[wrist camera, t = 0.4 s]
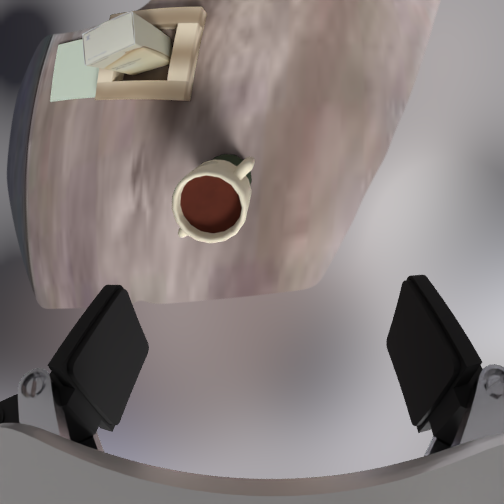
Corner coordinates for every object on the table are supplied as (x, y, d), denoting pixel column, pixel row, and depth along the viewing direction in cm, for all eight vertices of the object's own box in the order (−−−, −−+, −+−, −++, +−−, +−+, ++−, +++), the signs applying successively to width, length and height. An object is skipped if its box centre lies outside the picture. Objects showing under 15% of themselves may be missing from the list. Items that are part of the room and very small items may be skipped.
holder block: (120, 19, 25) (110, 14, 23) (206, 13, 26) (201, 6, 23) (106, 99, 31) (94, 100, 29) (190, 101, 32) (183, 100, 29)
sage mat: (60, 45, 26) (58, 44, 26) (108, 35, 26) (106, 34, 26) (52, 101, 31) (50, 101, 30) (98, 97, 31) (96, 97, 31)
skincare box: (133, 76, 30) (82, 69, 19) (130, 49, 28) (79, 34, 17) (176, 62, 29) (135, 45, 18) (172, 35, 27) (131, 9, 16)
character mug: (237, 128, 33) (219, 137, 22) (276, 166, 35) (279, 194, 24) (183, 186, 37) (145, 222, 26) (220, 220, 39) (199, 268, 28)
